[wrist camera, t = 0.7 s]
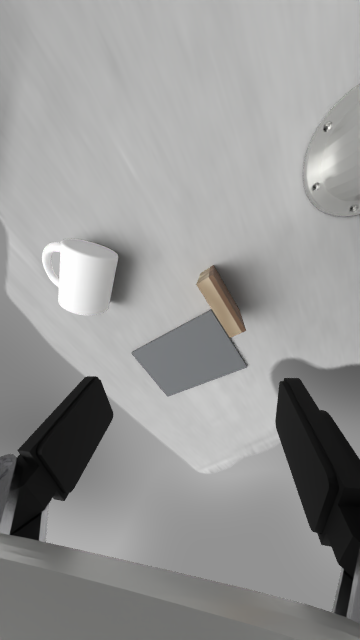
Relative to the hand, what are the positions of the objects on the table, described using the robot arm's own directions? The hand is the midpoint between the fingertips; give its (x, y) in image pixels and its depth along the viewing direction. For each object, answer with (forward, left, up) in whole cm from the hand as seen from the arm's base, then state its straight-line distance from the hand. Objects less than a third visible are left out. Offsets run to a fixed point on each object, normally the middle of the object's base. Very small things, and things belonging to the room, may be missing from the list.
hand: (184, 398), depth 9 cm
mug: (+17, -14, -25) cm, 33 cm away
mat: (+12, +11, -24) cm, 29 cm away
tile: (-1, +2, -24) cm, 24 cm away
